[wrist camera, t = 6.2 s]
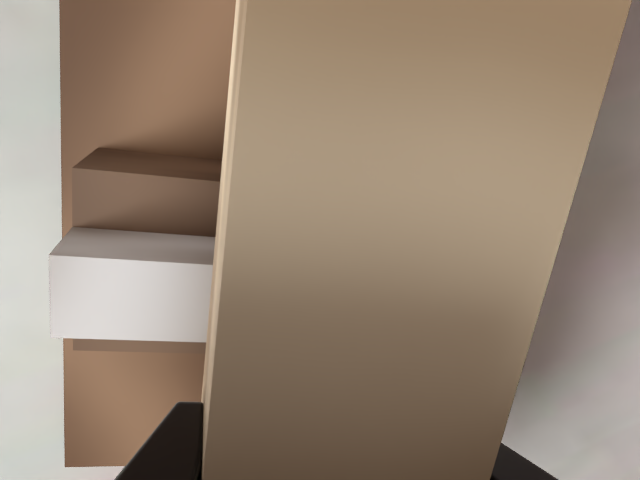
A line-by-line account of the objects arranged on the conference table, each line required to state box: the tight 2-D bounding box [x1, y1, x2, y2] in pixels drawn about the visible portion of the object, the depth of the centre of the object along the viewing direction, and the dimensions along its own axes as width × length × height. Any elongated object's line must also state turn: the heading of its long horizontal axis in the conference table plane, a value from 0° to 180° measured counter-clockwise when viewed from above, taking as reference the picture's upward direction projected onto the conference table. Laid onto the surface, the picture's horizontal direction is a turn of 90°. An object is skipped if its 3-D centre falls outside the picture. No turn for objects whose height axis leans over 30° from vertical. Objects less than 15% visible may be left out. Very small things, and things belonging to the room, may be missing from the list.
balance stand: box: [49, 0, 236, 467], centre depth 16 cm, size 12×18×6 cm, turn 172°
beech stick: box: [200, 0, 632, 480], centre depth 8 cm, size 22×4×4 cm, turn 172°
